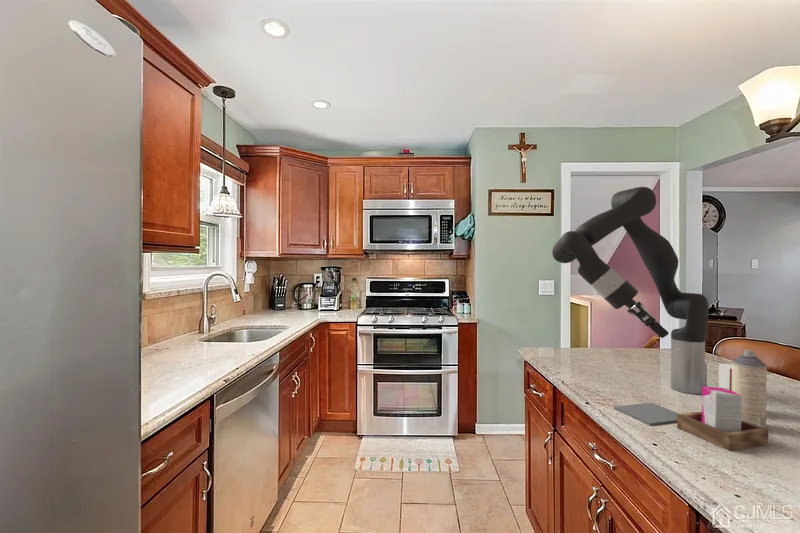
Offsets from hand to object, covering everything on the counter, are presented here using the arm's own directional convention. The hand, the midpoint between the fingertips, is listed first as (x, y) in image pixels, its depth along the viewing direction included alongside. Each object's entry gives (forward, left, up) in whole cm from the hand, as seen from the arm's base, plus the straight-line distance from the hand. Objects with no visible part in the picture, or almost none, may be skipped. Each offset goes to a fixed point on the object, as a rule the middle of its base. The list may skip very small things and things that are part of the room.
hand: (663, 333), depth 99 cm
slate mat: (-4, -7, -25) cm, 26 cm away
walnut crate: (-9, +8, -25) cm, 27 cm away
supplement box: (-9, +8, -25) cm, 28 cm away
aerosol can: (-23, +5, -25) cm, 34 cm away
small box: (-32, -3, -25) cm, 41 cm away
